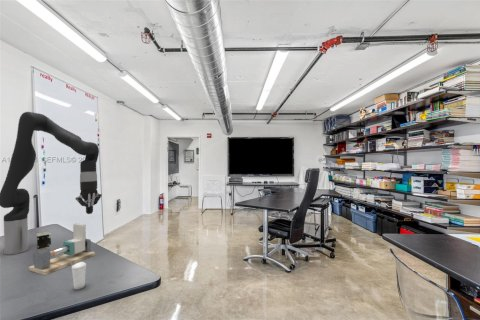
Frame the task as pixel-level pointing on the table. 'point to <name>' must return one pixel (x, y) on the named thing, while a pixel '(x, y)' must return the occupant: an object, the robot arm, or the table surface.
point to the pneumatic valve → (43, 240)
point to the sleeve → (79, 237)
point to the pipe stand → (58, 259)
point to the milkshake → (79, 274)
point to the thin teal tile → (71, 247)
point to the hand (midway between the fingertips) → (89, 213)
